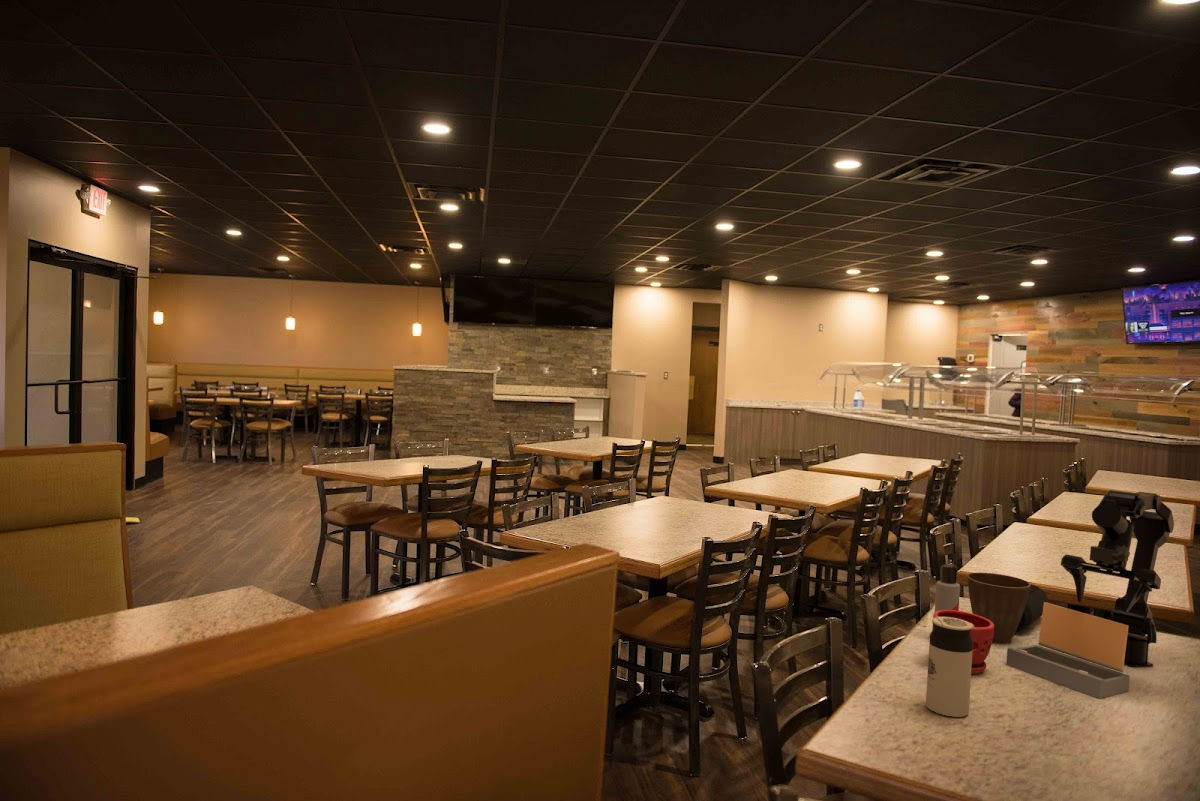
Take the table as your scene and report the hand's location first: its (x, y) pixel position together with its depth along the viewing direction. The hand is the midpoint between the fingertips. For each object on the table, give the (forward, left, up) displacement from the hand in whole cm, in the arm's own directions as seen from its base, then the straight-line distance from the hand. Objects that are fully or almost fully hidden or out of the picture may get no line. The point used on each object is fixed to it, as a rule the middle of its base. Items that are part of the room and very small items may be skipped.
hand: (1102, 607), depth 177 cm
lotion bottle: (+19, -29, -18) cm, 39 cm away
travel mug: (+45, +13, -18) cm, 50 cm away
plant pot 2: (+4, -30, -18) cm, 35 cm away
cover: (0, -6, -8) cm, 10 cm away
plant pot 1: (+27, -10, -18) cm, 34 cm away
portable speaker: (-13, -43, -18) cm, 49 cm away
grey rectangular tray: (+5, -4, -18) cm, 19 cm away
